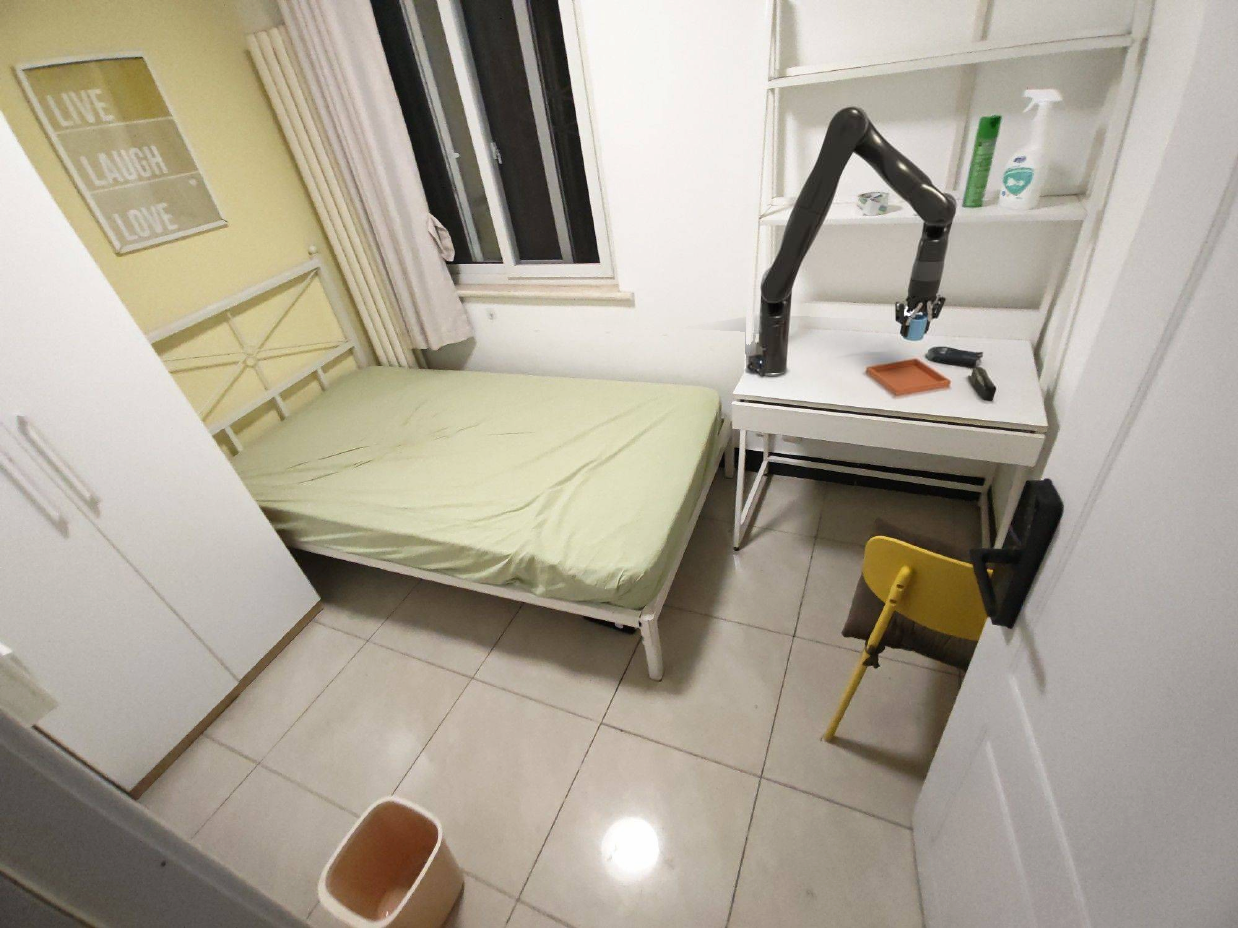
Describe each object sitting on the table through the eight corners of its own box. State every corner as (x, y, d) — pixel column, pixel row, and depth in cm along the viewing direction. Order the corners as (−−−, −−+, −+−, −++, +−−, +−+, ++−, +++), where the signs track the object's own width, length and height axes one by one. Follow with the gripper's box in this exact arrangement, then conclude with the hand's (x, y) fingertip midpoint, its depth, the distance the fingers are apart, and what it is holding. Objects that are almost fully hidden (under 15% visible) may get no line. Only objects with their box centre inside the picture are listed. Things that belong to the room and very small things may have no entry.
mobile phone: (999, 387, 152) (980, 362, 163) (987, 387, 152) (969, 362, 164) (994, 403, 155) (976, 377, 166) (982, 403, 155) (964, 377, 167)
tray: (895, 397, 162) (897, 390, 161) (865, 373, 176) (866, 366, 174) (949, 388, 163) (951, 380, 162) (915, 365, 177) (916, 358, 175)
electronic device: (979, 362, 177) (929, 348, 183) (987, 347, 173) (935, 334, 180) (972, 378, 172) (921, 363, 178) (979, 363, 168) (927, 348, 175)
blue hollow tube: (909, 342, 159) (914, 321, 156) (899, 335, 163) (903, 315, 160) (926, 339, 160) (931, 319, 156) (915, 332, 164) (920, 313, 160)
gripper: (942, 268, 155) (928, 326, 165) (893, 275, 154) (882, 333, 163) (960, 275, 149) (944, 335, 159) (909, 283, 148) (897, 343, 157)
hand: (913, 334), depth 161 cm, fingers closed on blue hollow tube, 5 cm apart
